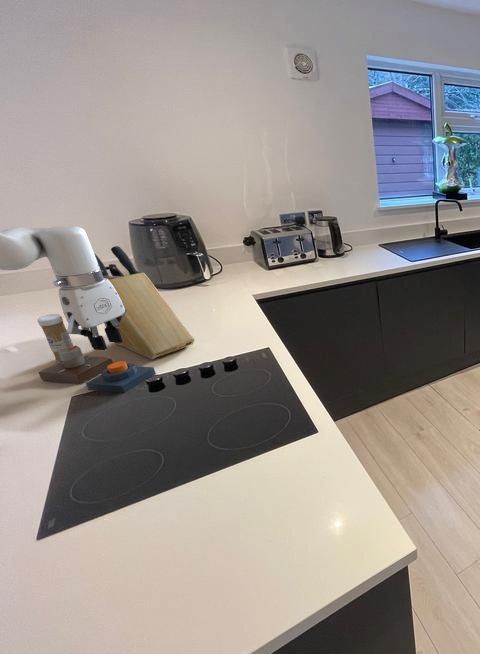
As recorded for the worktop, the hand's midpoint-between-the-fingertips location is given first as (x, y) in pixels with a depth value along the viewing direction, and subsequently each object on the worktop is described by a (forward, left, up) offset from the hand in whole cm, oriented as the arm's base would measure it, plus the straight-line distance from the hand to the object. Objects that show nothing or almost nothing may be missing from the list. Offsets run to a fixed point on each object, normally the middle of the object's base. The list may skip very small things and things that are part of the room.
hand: (108, 345), depth 103 cm
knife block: (-14, +21, -11) cm, 28 cm away
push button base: (0, 0, -11) cm, 11 cm away
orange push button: (0, 0, -8) cm, 8 cm away
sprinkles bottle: (-27, +9, -11) cm, 31 cm away
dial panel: (-15, +2, -11) cm, 19 cm away
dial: (-15, +2, -8) cm, 17 cm away
